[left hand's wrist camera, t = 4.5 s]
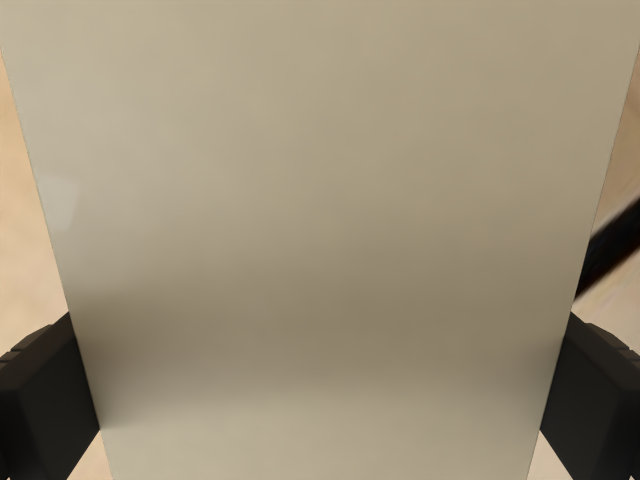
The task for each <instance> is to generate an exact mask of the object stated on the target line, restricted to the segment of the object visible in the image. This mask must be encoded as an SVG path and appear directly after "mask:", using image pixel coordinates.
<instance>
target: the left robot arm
mask: <svg viewBox="0 0 640 480" xmlns="http://www.w3.org/2000/svg"><path fill="white" fill-rule="evenodd" d="M99 430H100V428H99V424H98V420H97V416H96V413H95V409H94V405H93V401H92V397H91V393H90V390H89V386H88V382H87V378H86V374H85V371H84V367H83V363H82V359H81V355H80V351H79V348H78V344H77V340H76V336H75V332H74V328H73V325H72V321H71V317H70V313H69V311H68V312H67V313H66V314H65V315H64V316H63V317H61V318H60V319H59V320H58V321H57V322H55V323H54V324H53V325H47V326H45V327H43V328H41V329H39V330H37V331H35V332H33V333H32V334H30V335H28V336H26V337H25V338H24V339H23V340H21V341H20V342H19V343H18V344H16V345H15V346H14V347H13V348H11V351H10V352H6V353H5V354H4V355H3V356H2V357H0V480H7V479H8V478H10V480H67V478H68V477H69V475H70V474H71V472H72V471H73V469H74V468H75V466H76V465H77V463H78V462H79V460H80V459H81V457H82V456H83V454H84V453H85V451H86V450H87V448H88V447H89V445H90V444H91V442H92V441H93V439H94V438H95V436H96V435H97V433H98V432H99ZM540 431H541V432H542V434H543V435H544V437H545V438H546V440H547V441H548V443H549V444H550V446H551V447H552V449H553V450H554V452H555V453H556V455H557V456H558V458H559V459H560V461H561V462H562V464H563V465H564V467H565V468H566V470H567V471H568V473H569V474H570V476H571V477H572V479H573V480H629V479H630V476H632V477H633V478H634V479H635V480H640V356H639V355H638V354H637V353H635V352H634V351H633V350H629V347H628V346H627V345H625V344H624V343H623V342H622V341H620V340H619V339H618V338H617V337H615V336H614V335H613V334H611V333H609V332H607V331H605V330H603V329H601V328H600V327H598V326H596V325H594V324H592V323H584V322H583V321H582V320H581V319H579V318H578V317H577V316H576V315H575V314H573V313H572V312H571V311H570V315H569V319H568V323H567V327H566V331H565V334H564V338H563V342H562V346H561V350H560V354H559V357H558V361H557V365H556V369H555V373H554V376H553V380H552V384H551V388H550V392H549V396H548V399H547V403H546V407H545V411H544V415H543V419H542V422H541V426H540Z"/></svg>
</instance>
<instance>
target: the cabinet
mask: <svg viewBox="0 0 640 480" xmlns="http://www.w3.org/2000/svg"><path fill="white" fill-rule="evenodd" d="M639 47H640V0H0V49H1V53H2V57H3V61H4V65H5V68H6V72H7V76H8V80H9V84H10V88H11V91H12V95H13V99H14V103H15V107H16V110H17V114H18V118H19V122H20V126H21V130H22V133H23V137H24V141H25V145H26V149H27V153H28V156H29V160H30V164H31V168H32V172H33V175H34V179H35V183H36V187H37V191H38V195H39V198H40V202H41V206H42V210H43V214H44V218H45V221H46V225H47V229H48V233H49V237H50V240H51V244H52V248H53V252H54V256H55V260H56V263H57V267H58V271H59V275H60V279H61V283H62V286H63V290H64V294H65V298H66V302H67V305H68V309H69V313H70V317H71V321H72V325H73V328H74V332H75V336H76V340H77V344H78V348H79V351H80V355H81V359H82V363H83V367H84V371H85V374H86V378H87V382H88V386H89V390H90V393H91V397H92V401H93V405H94V409H95V413H96V416H97V420H98V424H99V428H100V432H101V436H102V439H103V443H104V447H105V451H106V455H107V458H108V462H109V466H110V470H111V474H112V478H113V480H527V476H528V472H529V468H530V465H531V461H532V457H533V453H534V449H535V445H536V442H537V438H538V434H539V430H540V426H541V422H542V419H543V415H544V411H545V407H546V403H547V399H548V396H549V392H550V388H551V384H552V380H553V376H554V373H555V369H556V365H557V361H558V357H559V354H560V350H561V346H562V342H563V338H564V334H565V331H566V327H567V323H568V319H569V315H570V311H571V308H572V304H573V300H574V296H575V292H576V288H577V285H578V281H579V277H580V273H581V269H582V265H583V262H584V258H585V254H586V250H587V246H588V243H589V239H590V235H591V231H592V227H593V223H594V220H595V216H596V212H597V208H598V204H599V200H600V197H601V193H602V189H603V185H604V181H605V177H606V174H607V170H608V166H609V162H610V158H611V154H612V151H613V147H614V143H615V139H616V135H617V132H618V128H619V124H620V120H621V116H622V112H623V109H624V105H625V101H626V97H627V93H628V89H629V86H630V82H631V78H632V74H633V70H634V66H635V63H636V59H637V55H638V51H639Z"/></svg>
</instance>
